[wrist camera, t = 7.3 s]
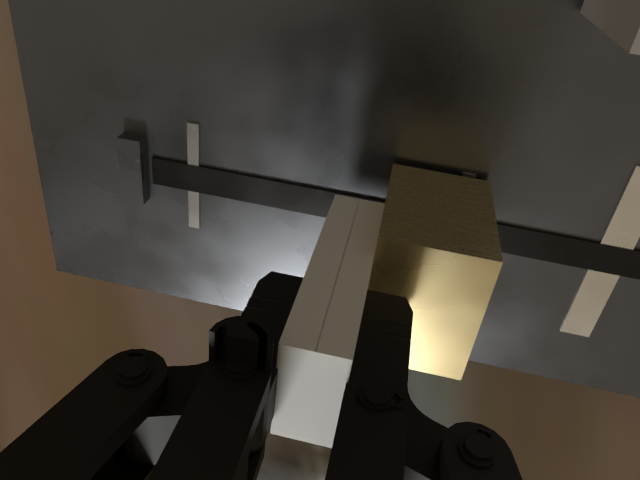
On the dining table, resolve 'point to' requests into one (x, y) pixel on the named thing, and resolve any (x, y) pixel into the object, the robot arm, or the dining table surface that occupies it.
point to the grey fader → (616, 21)
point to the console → (345, 149)
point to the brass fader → (438, 262)
